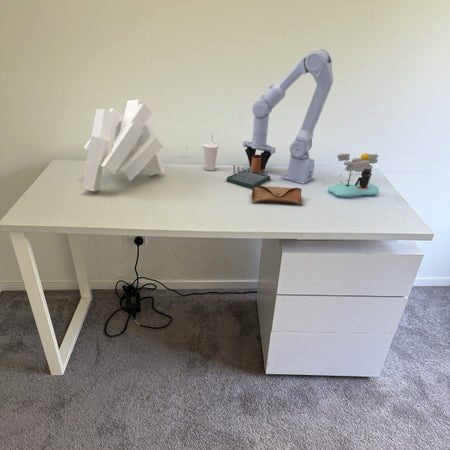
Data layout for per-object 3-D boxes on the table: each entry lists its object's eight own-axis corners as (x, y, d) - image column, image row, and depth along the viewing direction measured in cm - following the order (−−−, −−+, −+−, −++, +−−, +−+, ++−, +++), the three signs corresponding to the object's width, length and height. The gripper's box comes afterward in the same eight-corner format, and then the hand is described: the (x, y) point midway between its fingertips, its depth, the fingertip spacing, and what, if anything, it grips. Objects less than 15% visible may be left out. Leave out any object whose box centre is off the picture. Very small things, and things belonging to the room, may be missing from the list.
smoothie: (217, 171, 160) (218, 136, 151) (202, 171, 159) (202, 135, 151) (218, 166, 165) (219, 132, 156) (203, 166, 165) (203, 131, 156)
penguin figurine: (370, 186, 152) (381, 147, 142) (384, 197, 143) (396, 155, 134) (323, 188, 148) (330, 148, 139) (334, 199, 140) (343, 157, 131)
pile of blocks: (139, 216, 135) (178, 117, 124) (56, 178, 130) (89, 71, 119) (154, 204, 167) (186, 125, 156) (88, 173, 162) (117, 89, 151)
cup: (265, 170, 162) (267, 156, 159) (258, 174, 159) (260, 159, 155) (255, 168, 165) (256, 153, 161) (248, 171, 162) (249, 156, 158)
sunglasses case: (252, 202, 134) (253, 182, 133) (251, 205, 141) (252, 186, 140) (304, 205, 134) (305, 185, 133) (300, 207, 141) (301, 189, 140)
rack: (270, 180, 154) (271, 164, 150) (251, 189, 145) (253, 172, 142) (245, 173, 159) (246, 157, 156) (226, 181, 151) (227, 165, 147)
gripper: (239, 131, 154) (237, 166, 162) (270, 138, 147) (266, 174, 155) (249, 128, 158) (247, 162, 167) (279, 135, 152) (275, 169, 160)
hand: (257, 167), depth 161 cm, fingers closed on cup, 5 cm apart
